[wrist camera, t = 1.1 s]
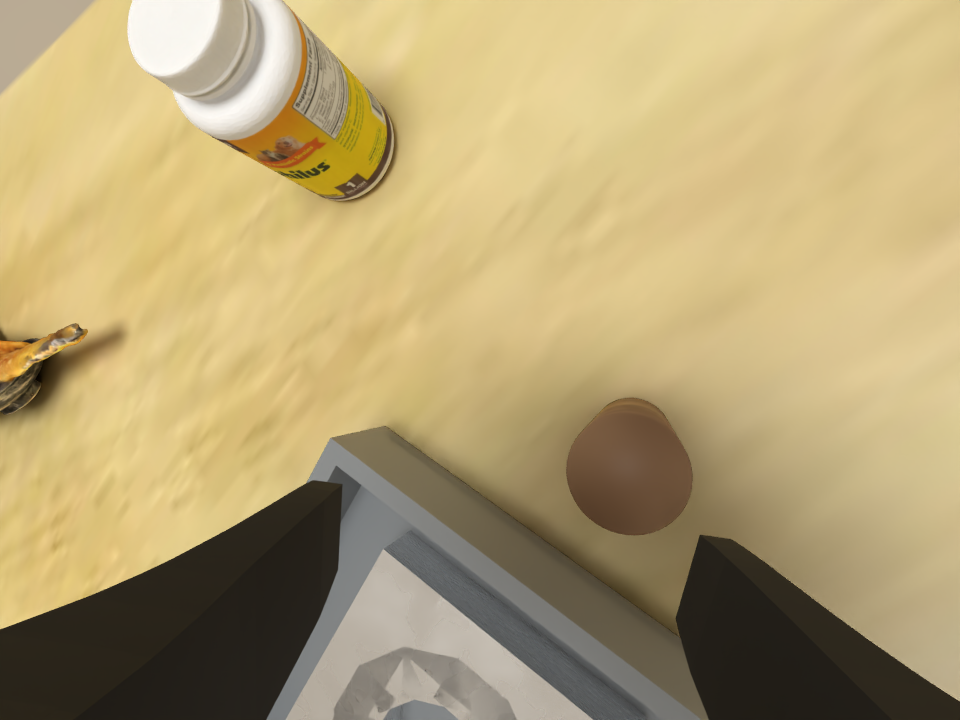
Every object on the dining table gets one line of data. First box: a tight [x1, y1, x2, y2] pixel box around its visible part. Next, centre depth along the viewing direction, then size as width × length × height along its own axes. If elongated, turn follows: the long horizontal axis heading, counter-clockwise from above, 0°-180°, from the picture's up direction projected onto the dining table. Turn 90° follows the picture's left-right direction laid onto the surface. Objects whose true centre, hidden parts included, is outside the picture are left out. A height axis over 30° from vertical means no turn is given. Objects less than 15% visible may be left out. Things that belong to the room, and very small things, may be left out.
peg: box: [566, 398, 692, 535], centre depth 17 cm, size 3×3×8 cm
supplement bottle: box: [128, 0, 394, 201], centre depth 20 cm, size 6×6×10 cm
